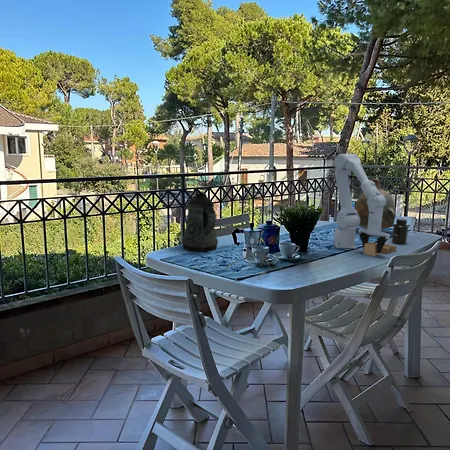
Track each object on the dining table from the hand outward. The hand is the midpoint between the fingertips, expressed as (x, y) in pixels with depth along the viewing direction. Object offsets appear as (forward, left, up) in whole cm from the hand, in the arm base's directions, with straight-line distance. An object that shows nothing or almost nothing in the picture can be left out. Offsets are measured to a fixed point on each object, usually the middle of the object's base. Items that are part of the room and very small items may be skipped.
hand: (372, 251), depth 192 cm
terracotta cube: (0, 0, -2) cm, 2 cm away
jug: (+11, +46, -2) cm, 47 cm away
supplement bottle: (+19, +24, -2) cm, 31 cm away
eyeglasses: (-52, -32, -2) cm, 61 cm away
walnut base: (+7, +7, -2) cm, 10 cm away
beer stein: (-77, -3, -2) cm, 77 cm away
